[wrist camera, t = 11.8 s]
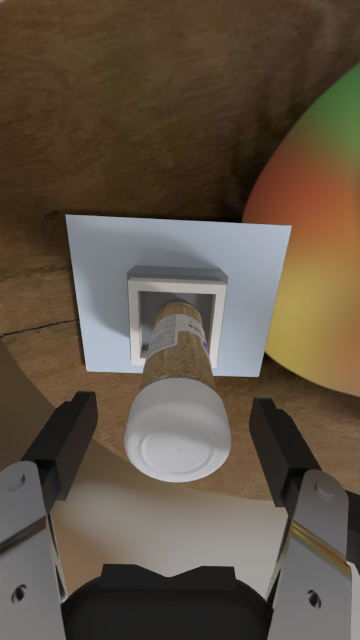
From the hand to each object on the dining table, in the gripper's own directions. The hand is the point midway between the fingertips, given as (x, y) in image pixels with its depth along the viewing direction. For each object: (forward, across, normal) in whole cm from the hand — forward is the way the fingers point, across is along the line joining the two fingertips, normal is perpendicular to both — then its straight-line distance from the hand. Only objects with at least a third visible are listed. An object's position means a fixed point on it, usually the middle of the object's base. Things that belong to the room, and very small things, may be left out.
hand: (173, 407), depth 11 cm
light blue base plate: (+16, 0, 0) cm, 16 cm away
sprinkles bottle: (+11, 0, 0) cm, 11 cm away
